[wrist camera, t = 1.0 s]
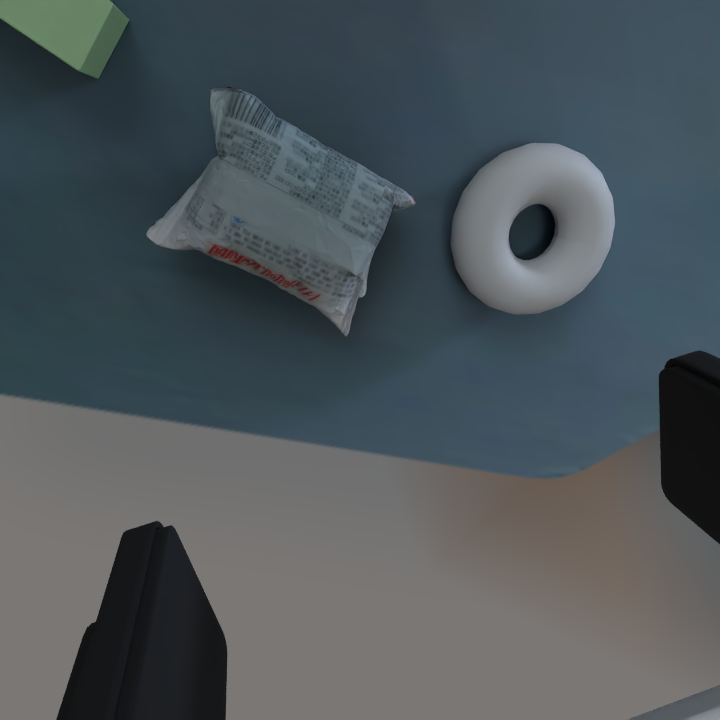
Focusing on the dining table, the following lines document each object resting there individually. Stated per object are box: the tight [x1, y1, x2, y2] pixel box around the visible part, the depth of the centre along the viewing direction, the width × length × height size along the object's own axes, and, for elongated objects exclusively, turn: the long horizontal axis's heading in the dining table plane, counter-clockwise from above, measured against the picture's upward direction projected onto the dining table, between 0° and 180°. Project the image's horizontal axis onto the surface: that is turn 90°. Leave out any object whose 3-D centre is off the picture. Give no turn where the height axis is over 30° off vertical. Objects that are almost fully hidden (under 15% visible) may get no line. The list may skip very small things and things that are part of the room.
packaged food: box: [147, 87, 417, 336], centre depth 30 cm, size 9×12×5 cm
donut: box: [450, 143, 615, 315], centre depth 33 cm, size 10×4×10 cm
